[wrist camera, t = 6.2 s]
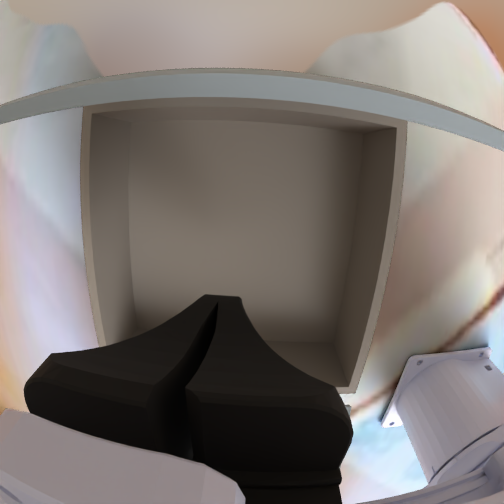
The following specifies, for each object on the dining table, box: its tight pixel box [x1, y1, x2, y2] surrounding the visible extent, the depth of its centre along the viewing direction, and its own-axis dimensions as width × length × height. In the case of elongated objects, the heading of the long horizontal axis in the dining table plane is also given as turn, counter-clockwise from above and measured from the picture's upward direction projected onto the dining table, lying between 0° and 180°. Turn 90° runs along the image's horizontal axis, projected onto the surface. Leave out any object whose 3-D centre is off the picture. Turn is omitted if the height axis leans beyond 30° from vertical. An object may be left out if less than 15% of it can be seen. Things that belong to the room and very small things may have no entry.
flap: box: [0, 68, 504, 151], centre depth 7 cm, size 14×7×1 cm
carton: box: [80, 97, 407, 394], centre depth 15 cm, size 14×14×5 cm
